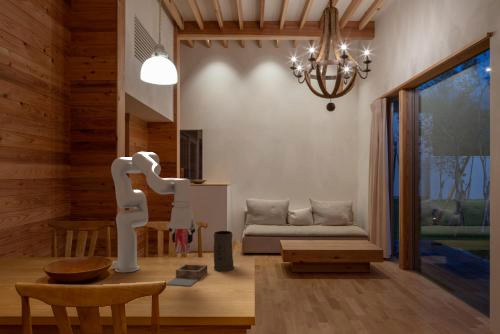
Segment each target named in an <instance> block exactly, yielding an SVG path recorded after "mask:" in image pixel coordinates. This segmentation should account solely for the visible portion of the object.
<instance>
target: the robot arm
mask: <svg viewBox="0 0 500 334" xmlns="http://www.w3.org/2000/svg"><path fill="white" fill-rule="evenodd" d="M110 169H111V170H110V171H111V176H112V180H113V182H114V189H115V199H116V203H117V206H118V208H121V209H126V210H123V211H120V212H118V213H117V215H116V217H115V221H116V222H115V223H116V229H117V260H113V261H112V263H111V266H115V268H114V272H116V273H132V272H136V271H139V270H140V268H141V267H140V265H138V263H137V260H138V244H137V243H138V239H137V238H138V237H137V232H136V231H135V230H134V228H138V227H144V226H146V224H147V223H148V221H149V210H148V203H147V198H146V197H147V196H146V194H145V192H144V191H142V190H140V189H133V187H132V181H131V179H130V177H129V176H128V175H127V174H142V173H143V175H145V176H146V178H145V179H146V183H147V185H148V186H149V188H150V189H151V190H153V191H154V192H155V193H157V194H159V195H169V194H171V195H172V194H173V197H174V200H173V201H172V202H171V205H172V206H173V207H172V209H171V216H170V221H169V222H168V223H167V224H166V228H167V229H168V231H169V232H170V234H171V235H172V236H171V240H172V243H174V244H175V230H176V229H180V228H181V229H185V230H188V232H189V235H188V243H190V244H191V243H192V242H193V241H194V237H193V236H194V235H193V234H194V233H195V232H196V231H197V230H198V229H199V227H200V225H198V224H197V222H195V220H194V213H193V212H194V211H193V207H191V180H190V179H188V178H176V177H167V178H166V177H164V178H163V177H160V176H159V175H160V173H161V170H162V167H161V165H160V158H159V156H158V154H156V153H154V152H152V151H151V152H150V151H149V152H147V151H138V152H135V153H134V154H133V155H132V156H131V157H128V156H127V157H125V156H124V157H123V156H122V157H118V158H115V159H114V160H113V162H112V164H111V168H110ZM129 208H133V209H129ZM128 209H129V210H128Z"/></svg>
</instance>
